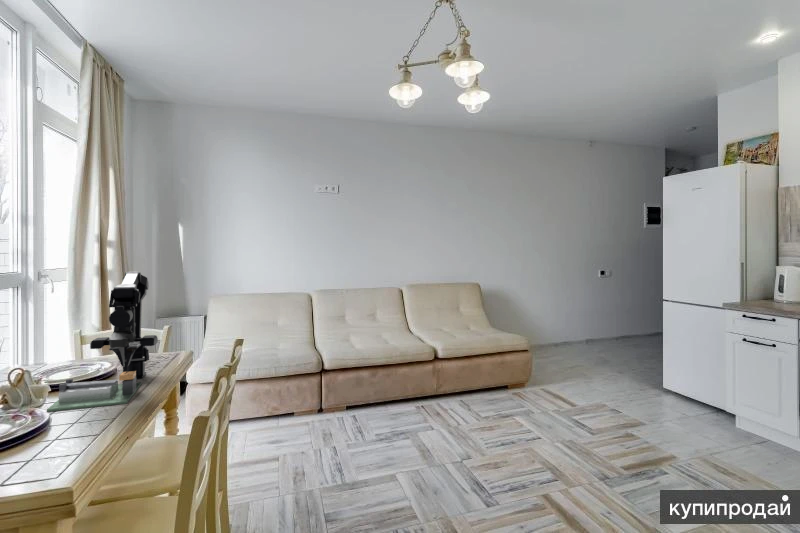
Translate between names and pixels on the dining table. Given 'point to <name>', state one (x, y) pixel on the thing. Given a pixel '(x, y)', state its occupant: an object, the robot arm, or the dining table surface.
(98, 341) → the robot arm
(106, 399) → the green flat square base
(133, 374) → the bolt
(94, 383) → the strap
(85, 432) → the dining table surface
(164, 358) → the dining table surface
